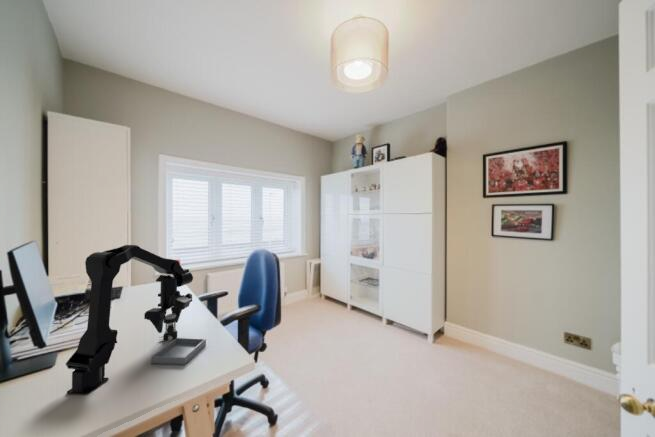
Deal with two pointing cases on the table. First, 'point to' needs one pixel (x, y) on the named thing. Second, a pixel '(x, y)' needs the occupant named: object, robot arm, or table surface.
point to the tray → (178, 351)
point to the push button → (170, 327)
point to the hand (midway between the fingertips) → (168, 327)
